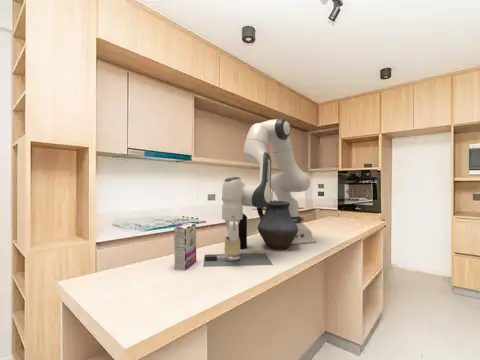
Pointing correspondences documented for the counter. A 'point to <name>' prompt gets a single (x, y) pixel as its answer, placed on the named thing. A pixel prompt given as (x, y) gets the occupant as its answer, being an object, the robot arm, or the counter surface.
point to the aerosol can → (243, 232)
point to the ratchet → (223, 257)
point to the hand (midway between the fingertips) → (232, 247)
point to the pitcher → (277, 225)
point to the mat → (241, 260)
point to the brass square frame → (228, 246)
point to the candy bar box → (185, 246)
